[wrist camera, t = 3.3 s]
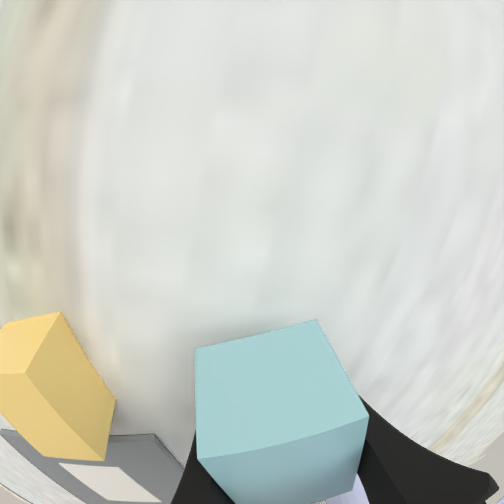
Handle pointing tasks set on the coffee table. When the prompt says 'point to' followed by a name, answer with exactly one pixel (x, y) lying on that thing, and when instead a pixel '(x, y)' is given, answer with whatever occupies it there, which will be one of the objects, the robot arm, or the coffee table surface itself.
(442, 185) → the coffee table surface
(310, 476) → the teal brick
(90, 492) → the baseplate
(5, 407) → the ochre brick
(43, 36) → the coffee table surface
